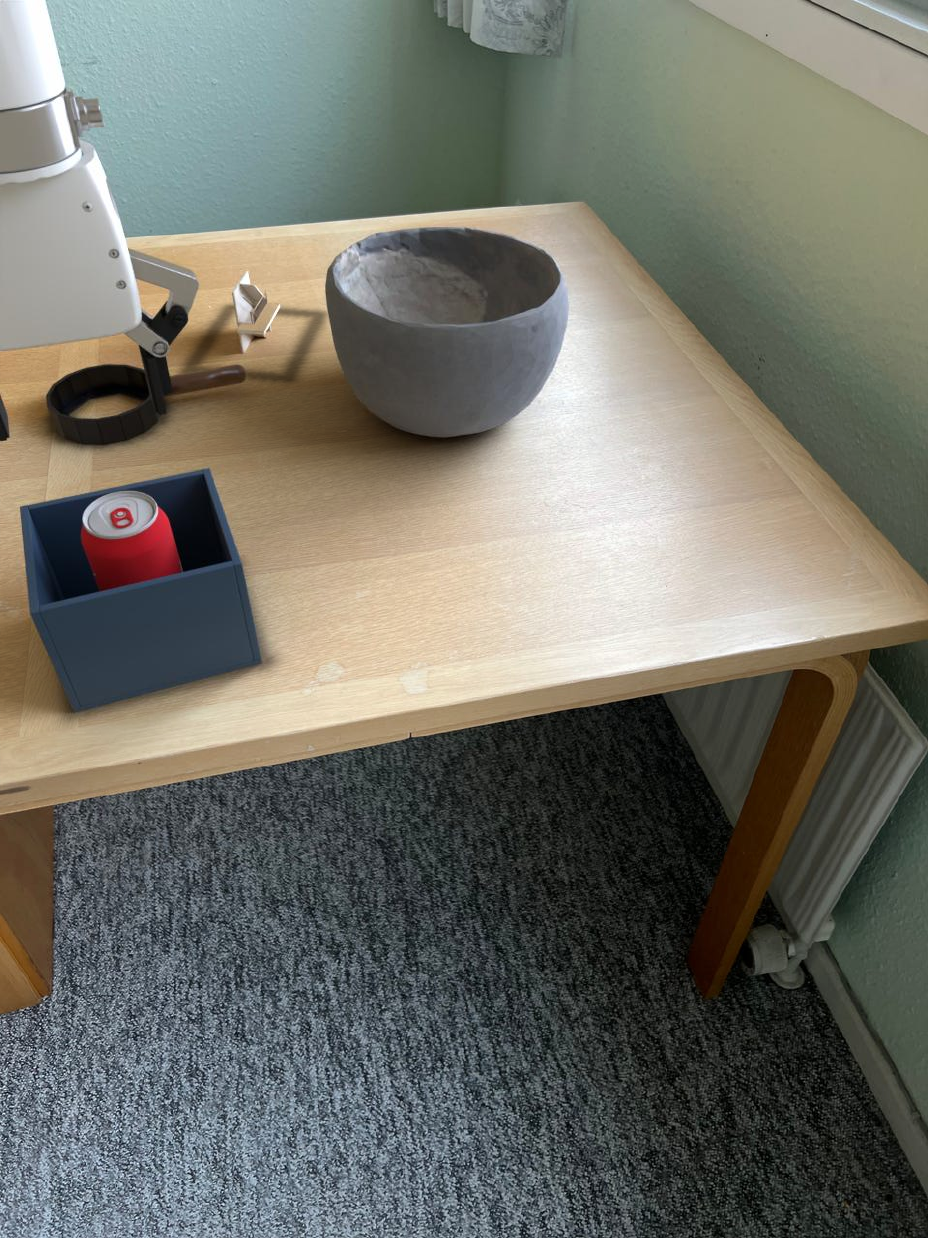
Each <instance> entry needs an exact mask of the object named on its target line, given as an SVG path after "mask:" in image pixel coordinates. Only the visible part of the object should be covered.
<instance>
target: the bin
mask: <svg viewBox="0 0 928 1238" xmlns="http://www.w3.org/2000/svg"><path fill="white" fill-rule="evenodd" d="M120 491H137V492H141V493H145V494H147V495H149V496H150V497H152V498H153V499H154V501H155V502H156V504H157V506H158V507H159V508H161V509H162V510H163V512H164V513H165V514H166V516H167V517H168V519H169V522H170V526H171V530H172V533H173V537H174V541H175V544H176V548H177V552H178V555H179V559H180V562H181V566H182V570H183V572H182V573H177V574H173V575H169V576H165V577H160V578H156V579H152V580H147V581H143V582H139V583H135V584H130V585H126V586H122V587H117V588H113V589H109V590H105V591H99V588H98V585H97V583H96V580H95V577H94V575H93V572H92V569H91V566H90V564H89V561H88V558H87V556H86V553H85V550H84V547H83V545H82V541H81V531H82V526H83V514H84V512H85V510H86V508H87V507H88V506H89V505H90V504H91V503H92V502H94V501H95V500H97V499H99V498H100V497H102V496H105V495H107V494H110V493H115V492H120ZM19 512H20V524H21V534H22V543H23V556H24V564H25V565H24V566H25V576H26V586H27V598H28V608H29V615H30V617H31V620H32V621H33V624H34V626H35V628H36V630H37V633H38V635H39V636H40V639H41V642H42V643H43V646H44V649H45V651H46V653H47V655H48V657H49V660H50V662H51V664H52V667H53V668H54V671H55V674H56V675H57V678H58V680H59V682H60V685H61V687H62V688H63V690H64V693H65V695H66V698H67V700H68V702H69V705H70V707H71V708H72V711H73V713H74V714H77V713H80V712H85V711H87V710H92V709H96V708H99V707H103V706H106V705H111V704H114V703H118V702H123V701H126V700H130V699H133V698H137V697H140V696H144V695H148V694H151V693H156V692H159V691H163V690H166V689H171V688H175V687H178V686H181V685H186V684H189V683H192V682H193V683H194V682H196V681H197V682H198V681H200V680H204V679H208V678H212V677H215V676H219V675H220V676H221V675H223V674H226V673H227V674H228V673H230V672H234V671H238V670H241V669H245V668H249V667H253V666H257V665H260V664H263V658H262V654H261V649H260V645H259V640H258V635H257V630H256V629H257V628H256V625H255V619H254V615H253V614H254V613H253V610H252V605H251V600H250V595H249V591H248V585H247V581H246V575H245V572H244V571H245V570H244V567H243V563H242V559H241V557H240V554H239V550H238V546H237V545H236V541H235V539H234V536H233V533H232V530H231V526H230V524H229V520H228V517H227V515H226V511H225V509H224V507H223V504H222V500H221V497H220V495H219V491H218V489H217V486H216V482H215V480H214V477H213V474H212V471H211V468H210V467H206V468H202V469H196V470H192V471H187V472H181V473H177V474H173V475H167V476H163V477H158V478H153V479H148V480H143V481H139V482H138V481H137V482H134V483H127V484H124V485H119V486H114V487H109V488H105V489H99V490H94V491H90V492H85V493H79V494H74V495H70V496H66V497H60V498H55V499H50V500H46V501H45V500H44V501H40V502H36V503H31V504H26V505H21V506H19Z"/></svg>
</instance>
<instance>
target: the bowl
mask: <svg viewBox="0 0 928 1238" xmlns="http://www.w3.org/2000/svg"><path fill="white" fill-rule="evenodd" d="M564 276H565V275H564V274H563V271H562V270H561V267H560V266H559V264H558V263H557V261H556V260H555V259H554V257H553V256H552V255H551V254H550V253H549V252H547V251H546V250H545V249H542V248H540V247H538V246H537V245H534V244H532V243H530V242H527V241H525V240H522V239H519V238H517V237H515V236H513V235H508V234H503V233H500V232H496V231H493V230H488V229H479V228H476V227H466V226H465V227H464V226H426V227H424V226H423V227H413V228H404V229H403V228H402V229H396V230H390V231H383V232H375V233H372V234H370V235H368V236H366V237H364V238H363V239H361V240H358V241H356V242H354V243H352V244H350V246H348V247H347V248H345V249H344V250H342V252H340V253H339V254H338V255H336V256H335V257H334V259H333V260H332V262H331V263H330V265H329V266H328V268H327V270H326V276H325V283H324V286H325V287H324V292H325V302H326V309H327V314H328V320H329V325H330V326H329V327H330V331H331V336H332V341H333V345H334V349H335V354H336V357H337V359H338V362H339V365H340V368H341V371H342V373H343V376H344V379H345V380H346V382H347V385H348V386H349V388H350V389H351V391H352V392H353V394H354V395H355V397H356V398H357V400H359V401H360V403H361V404H362V405H363V406H364V407H365V408H366V409H367V410H368V411H369V412H371V413H372V414H373V415H374V416H376V417H378V418H379V419H380V420H382V421H384V422H385V423H387V424H388V425H390V426H392V427H393V428H395V429H397V430H401V431H404V432H406V433H409V434H413V435H419V436H425V437H430V438H453V437H458V436H467V435H472V434H473V435H474V434H479V433H483V432H486V431H489V430H492V429H494V428H497V427H499V426H503V425H504V424H506V423H507V422H509V421H510V420H512V419H514V418H515V417H517V416H518V415H519V414H520V413H522V412H523V411H524V410H525V409H527V408H528V407H529V406H530V405H531V404H532V402H533V401H534V400H535V399H536V397H537V396H538V395H539V394H540V393H541V391H542V390H543V388H544V386H545V385H546V382H547V381H548V379H549V377H550V376H551V375H552V373H553V370H554V368H555V365H556V363H557V361H558V358H559V355H560V352H561V350H562V346H563V343H564V339H565V335H566V332H567V328H568V321H569V311H570V300H569V293H568V292H569V291H568V286H567V281H566V280H565V277H564Z"/></svg>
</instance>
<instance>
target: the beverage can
mask: <svg viewBox="0 0 928 1238" xmlns="http://www.w3.org/2000/svg"><path fill="white" fill-rule="evenodd" d="M81 541H82V545H83V547H84V550H85V553H86V556H87V558H88V561H89V564H90V566H91V569H92V572H93V575H94V577H95V580H96V583H97V585H98V588H99V591H105V590H109V589H113V588H117V587H122V586H126V585H130V584H135V583H139V582H143V581H147V580H152V579H156V578H160V577H165V576H169V575H173V574H177V573H182V572H183V570H182V566H181V562H180V559H179V555H178V552H177V548H176V544H175V541H174V537H173V533H172V530H171V526H170V522H169V519H168V517H167V516H166V514H165V513H164V512H163V510H162V509H161V508H159V507H158V506H157V504H156V502H155V501H154V499H153V498H152V497H150V496H149V495H147V494H145V493H141V492H137V491H120V492H115V493H110V494H107V495H105V496H102V497H100V498H99V499H97V500H95V501H94V502H92V503H91V504H90V505H89V506H88V507H87V508H86V510H85V512H84V514H83V526H82V531H81Z"/></svg>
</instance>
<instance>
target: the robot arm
mask: <svg viewBox="0 0 928 1238" xmlns="http://www.w3.org/2000/svg"><path fill="white" fill-rule="evenodd" d="M51 22H52V21H51V17H50V13H49V9H48V6H47V1H46V0H0V353H1V352H10V351H18V350H19V351H20V350H27V349H33V348H41V347H42V348H43V347H49V346H56V345H62V344H70V343H77V342H84V341H90V340H91V341H92V340H97V339H98V340H99V339H103V338H110V337H115V336H119V335H123V334H124V335H125V336H126V337H128V338H129V339H130V340H131V341H133V342H135V343H136V344H137V345H138V349H139V353H140V357H141V362H142V366H143V369H144V371H145V375H146V380H147V384H148V388H149V393H150V396H151V400H152V403H153V406H154V410H155V413H159V415H161V416H162V415H167V414H168V410H167V407H166V402H165V397H163V396H164V395H170V394H173V388H172V383H171V379H170V376H171V374H170V369H169V365H168V360H167V356H168V355H169V353H170V350H171V348H170V346H171V345H172V343H174V341H175V340H176V339H177V337H178V336H179V334H180V333H181V332H182V331H183V329H185V327H186V326H187V324H188V322H189V315H190V311H191V310H192V308H193V305H194V303H195V299H196V297H197V294H198V291H199V288H200V283H199V280H198V279H197V275H196V273H195V272H194V271H193V270H192V269H190V268H187V267H185V266H182V265H179V264H176V263H172V262H170V261H167V260H165V259H161V258H159V257H156V256H152V255H149V254H148V253H147V254H146V253H143V252H141V251H138V250H135V249H132V248H130V247H129V248H128V243H127V239H126V237H125V231H124V228H123V225H122V221H121V218H120V214H119V211H118V206H117V204H116V200H115V198H114V195H113V192H112V189H111V186H110V182H109V180H108V177H107V175H106V172H105V169H104V167H103V165H102V162H101V160H100V157H99V155H98V154H97V151H96V149H95V147H94V146H93V144H92V143H90V142H89V141H85V140H81V139H79V138H84V136H85V135H84V132H88V131H91V128H103V127H105V123H104V120H103V119H104V118H103V114H102V110H101V106H100V102H99V98H97V97H96V98H83V96H75V95H74V91H73V90H71V91H68V90H67V87H66V81H65V77H64V72H63V68H62V63H61V61H60V56H59V52H58V47H57V43H56V39H55V34H54V30H53V27H52V23H51ZM137 280H139V281H141V282H145V283H148V284H151V285H154V286H157V287H161V288H163V289H166V290H168V291H169V292H168V298H167V300H166V301H165V302H164V304H163V305H162V306H161V307H160V309H159V310H158V311H157V313H156V314H155V315H154V317H153V316H152V315H151V314H149V313H148V312H147V311H145V309H143V308H142V306H141V304H142V303H141V297H140V292H139V287H138V283H137ZM10 436H11V435H10V425H9V415H8V412H7V409H6V406H5V403H4V400H3V398H2V394H0V442H6V441H8V439H10V438H11V437H10Z"/></svg>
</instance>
